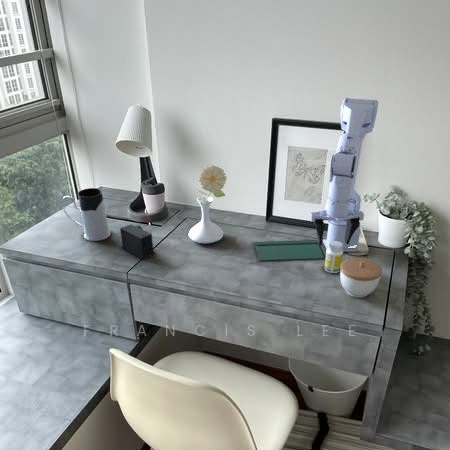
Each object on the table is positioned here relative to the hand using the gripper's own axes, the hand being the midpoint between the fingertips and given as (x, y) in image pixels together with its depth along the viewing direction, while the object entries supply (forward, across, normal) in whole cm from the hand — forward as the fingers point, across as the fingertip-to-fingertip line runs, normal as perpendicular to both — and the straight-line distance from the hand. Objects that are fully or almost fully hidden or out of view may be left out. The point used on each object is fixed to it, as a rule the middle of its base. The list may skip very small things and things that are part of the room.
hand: (333, 243), depth 138 cm
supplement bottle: (+9, +1, 0) cm, 9 cm away
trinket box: (+9, +5, -12) cm, 16 cm away
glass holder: (+9, -76, +27) cm, 81 cm away
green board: (+9, -10, +12) cm, 18 cm away
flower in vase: (+9, -35, +21) cm, 42 cm away
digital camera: (+9, -57, +15) cm, 60 cm away
